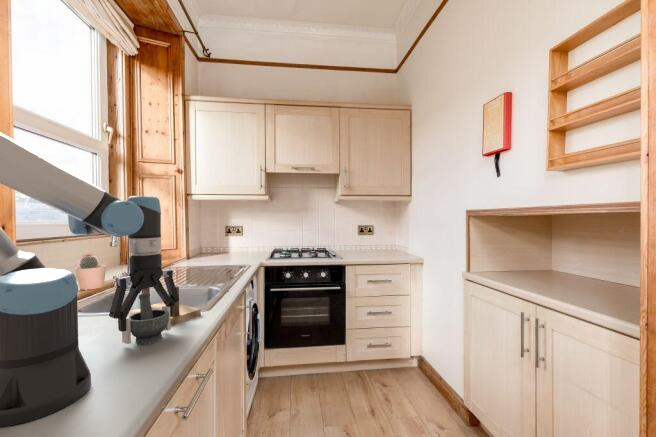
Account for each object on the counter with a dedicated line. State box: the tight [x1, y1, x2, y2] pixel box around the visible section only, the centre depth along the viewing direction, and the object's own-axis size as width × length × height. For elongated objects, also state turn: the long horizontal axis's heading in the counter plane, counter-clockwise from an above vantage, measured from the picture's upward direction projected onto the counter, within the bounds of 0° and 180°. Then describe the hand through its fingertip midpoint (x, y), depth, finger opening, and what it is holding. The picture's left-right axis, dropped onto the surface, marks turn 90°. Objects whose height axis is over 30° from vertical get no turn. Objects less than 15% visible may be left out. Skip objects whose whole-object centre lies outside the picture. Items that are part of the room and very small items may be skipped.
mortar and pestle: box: [129, 293, 169, 346], centre depth 83 cm, size 11×9×12 cm
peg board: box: [127, 285, 202, 326], centre depth 101 cm, size 16×20×11 cm
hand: (147, 335), depth 83 cm, fingers closed on mortar and pestle, 10 cm apart
